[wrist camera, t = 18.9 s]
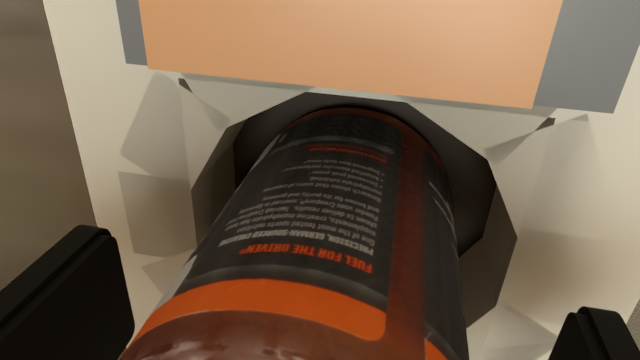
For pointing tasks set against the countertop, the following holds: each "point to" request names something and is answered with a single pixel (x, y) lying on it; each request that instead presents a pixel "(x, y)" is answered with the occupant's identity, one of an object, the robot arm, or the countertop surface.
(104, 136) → the socket block
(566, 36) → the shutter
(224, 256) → the supplement bottle
